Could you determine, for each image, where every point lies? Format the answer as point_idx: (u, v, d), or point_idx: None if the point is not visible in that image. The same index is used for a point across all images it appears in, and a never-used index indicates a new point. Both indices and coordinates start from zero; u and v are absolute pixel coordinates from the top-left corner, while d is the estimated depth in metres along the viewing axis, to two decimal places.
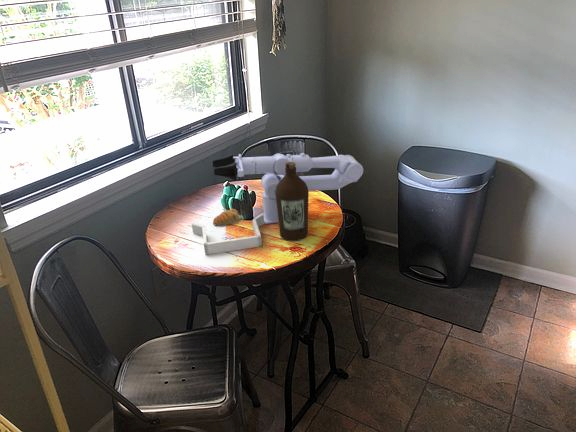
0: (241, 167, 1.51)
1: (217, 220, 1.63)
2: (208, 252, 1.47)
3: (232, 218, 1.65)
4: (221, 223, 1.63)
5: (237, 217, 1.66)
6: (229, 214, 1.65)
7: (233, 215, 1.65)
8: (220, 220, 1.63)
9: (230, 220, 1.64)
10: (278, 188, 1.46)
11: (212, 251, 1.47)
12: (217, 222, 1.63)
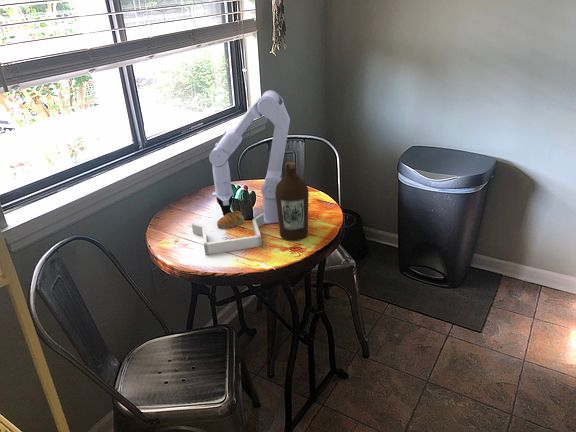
0: (221, 199, 1.60)
1: (221, 222, 1.61)
2: (208, 252, 1.47)
3: (236, 220, 1.63)
4: (225, 225, 1.61)
5: (241, 219, 1.64)
6: (233, 216, 1.63)
7: (237, 217, 1.63)
8: (224, 222, 1.61)
9: (234, 222, 1.62)
10: (278, 188, 1.46)
11: (212, 251, 1.47)
12: (221, 224, 1.61)
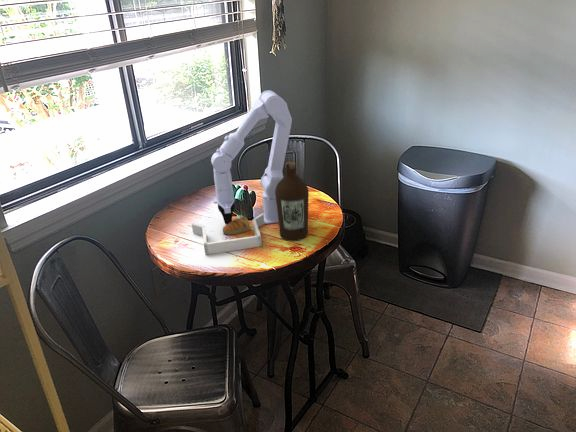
0: (222, 207, 1.55)
1: (227, 229, 1.57)
2: (208, 252, 1.47)
3: (242, 227, 1.58)
4: (231, 232, 1.57)
5: (247, 226, 1.59)
6: (239, 222, 1.58)
7: (243, 224, 1.58)
8: (230, 229, 1.57)
9: (240, 229, 1.58)
10: (278, 188, 1.46)
11: (212, 251, 1.47)
12: (227, 231, 1.57)
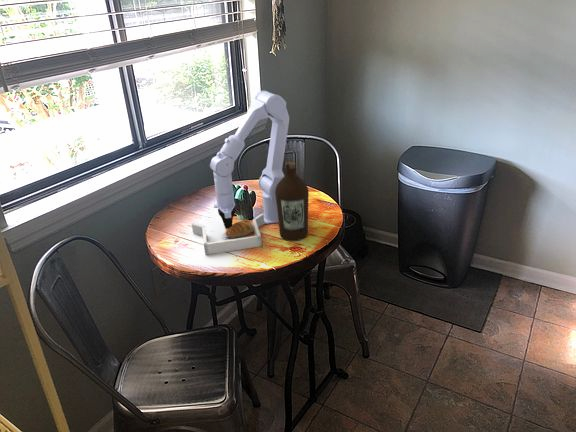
0: (223, 211, 1.51)
1: (230, 232, 1.54)
2: (208, 252, 1.47)
3: (246, 229, 1.56)
4: (235, 235, 1.54)
5: (251, 228, 1.57)
6: (243, 225, 1.56)
7: (247, 226, 1.56)
8: (234, 232, 1.54)
9: (244, 231, 1.55)
10: (278, 188, 1.46)
11: (212, 251, 1.47)
12: (231, 234, 1.54)
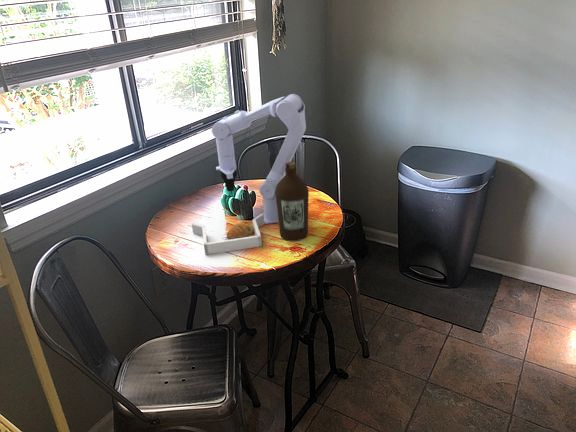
0: (225, 172, 1.59)
1: (232, 234, 1.54)
2: (208, 252, 1.47)
3: (247, 230, 1.56)
4: (236, 237, 1.54)
5: (251, 229, 1.57)
6: (243, 226, 1.56)
7: (247, 227, 1.56)
8: (235, 234, 1.54)
9: (245, 233, 1.55)
10: (278, 188, 1.46)
11: (212, 251, 1.47)
12: (232, 236, 1.53)
